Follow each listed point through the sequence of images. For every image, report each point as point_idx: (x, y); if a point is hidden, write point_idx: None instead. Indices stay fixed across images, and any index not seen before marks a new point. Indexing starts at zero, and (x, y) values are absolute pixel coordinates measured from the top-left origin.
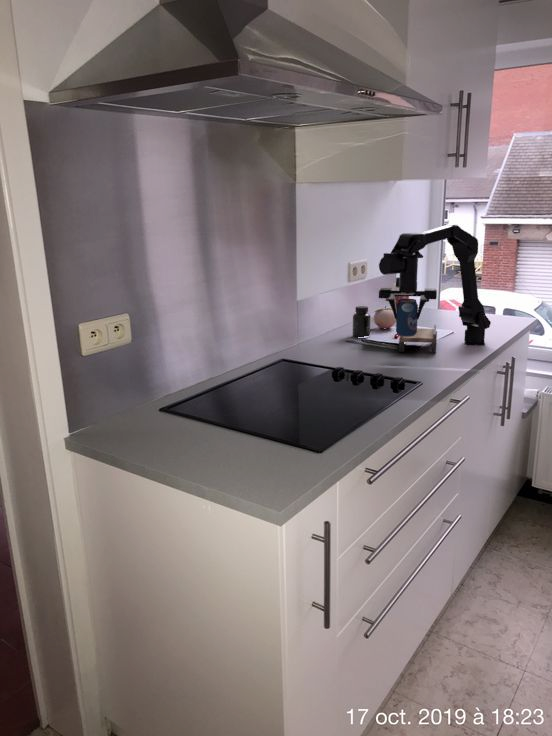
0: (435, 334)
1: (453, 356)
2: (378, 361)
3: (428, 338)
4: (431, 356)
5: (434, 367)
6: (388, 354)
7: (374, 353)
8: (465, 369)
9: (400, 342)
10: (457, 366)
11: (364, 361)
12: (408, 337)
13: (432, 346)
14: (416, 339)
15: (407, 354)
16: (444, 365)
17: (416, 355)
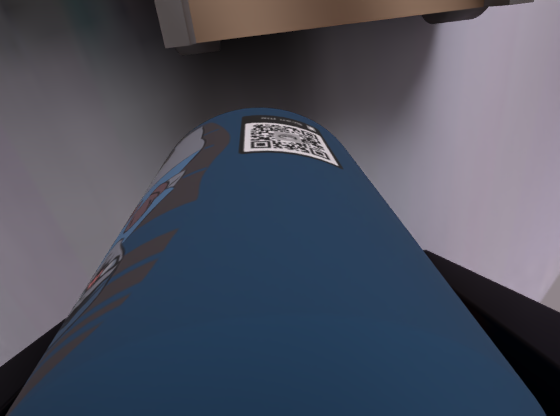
0: (529, 1)
1: (551, 39)
2: None
3: (439, 10)
4: (412, 80)
5: None
6: (137, 105)
7: (38, 105)
8: (551, 275)
9: (188, 48)
10: (526, 242)
11: (74, 284)
12: (250, 20)
13: (444, 21)
14: (326, 26)
15: (256, 70)
16: (468, 242)
17: (317, 80)
